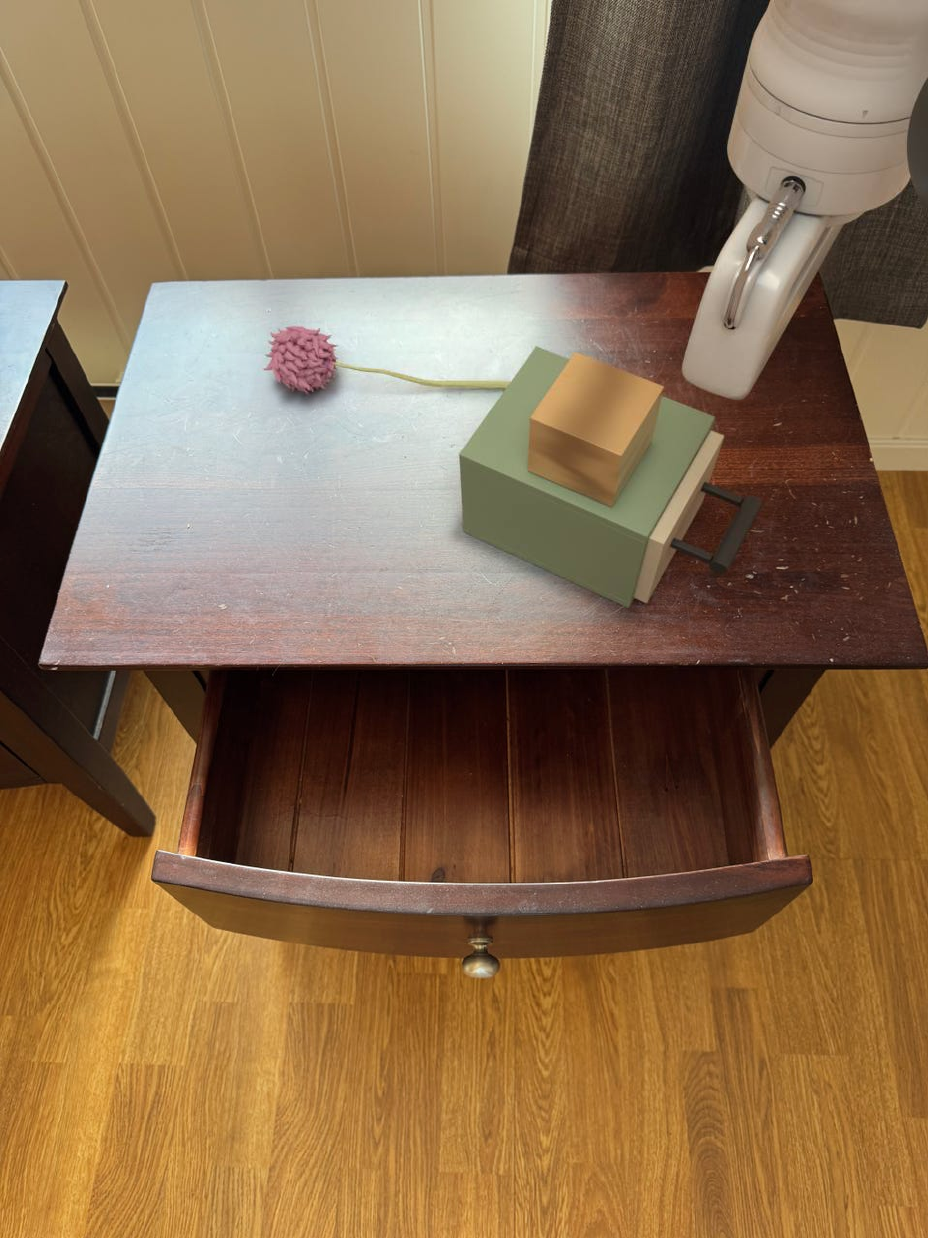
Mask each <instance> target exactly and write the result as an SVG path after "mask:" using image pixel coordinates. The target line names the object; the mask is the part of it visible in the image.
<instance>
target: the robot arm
mask: <svg viewBox="0 0 928 1238" xmlns="http://www.w3.org/2000/svg"><path fill="white" fill-rule="evenodd" d="M751 39H752V40H751V42H750V46H749V50H748V55H747V59H746V64H745V68H744V71H743V76H742V79H741V80H742V81H741V83H740V84H741V85H740V89H739V92H738V96H737V101H736V105H735V110H734V113H733V118H732V122H731V127H730V131H729V134H728V139H727V145H726V146H727V147H726V151H727V158H728V162H729V164H730V167H731V169H732V171H733V172H734V175H736V177H737V178H738V180H740V182H741V183H742V184H743V185H744V186H745V191H746V193H747V195H748V197H749V198H750V200H751V202H750V204H749V205H748V207H747V208H746V210H745V212H744V213H743V215H742V216H741V218H740V219H739V221H738V222H737V224H736V226H735V227H734V229H733V230H732V232H731V234H730V235H729V237H728V239H727V240H726V241H725V243H724V245H723V247H722V248H721V250H720V252H719V254H718V256H717V258H716V261H715V263H714V265H713V267H712V269H711V272H710V274H709V277H708V279H707V282H706V285H705V287H704V291H703V293H702V295H701V296H702V297H701V300H700V302H699V306H698V309H697V312H696V316H695V319H694V322H693V326H692V328H691V333H690V336H689V339H688V343H687V346H686V349H685V353H684V356H683V360H682V364H681V373H682V376H683V379H685V380H686V381H687V382H688V383H690V384H691V385H693V386H695V387H697V388H700V389H702V390H704V391H706V392H709V393H711V394H714V395H717V396H720V397H723V398H727V399H730V400H732V401H733V400H734V401H741V400H744V399H745V398H747V396H748V395H749V394H750V392H751V390H753V387H754V385H756V382H757V381H758V379H759V377H760V375H761V374H762V371H763V370H764V368H765V366H766V365H767V362H768V361H769V358H770V357H771V356H772V353H773V352H774V350H775V348H776V346H777V344H778V343H779V341H780V339H781V337H782V336H783V333H784V332H785V330H786V328H787V326H788V325H789V323H790V321H791V319H792V317H793V316H794V314H795V312H796V310H797V309H798V307H799V306H800V303H801V302H802V300H803V298H804V297H805V294H806V293H807V291H808V289H809V288H810V285H811V283H812V282H813V280H814V278H815V276H816V275H817V273H818V271H819V269H820V268H821V265H822V264H823V262H824V260H825V259H826V257H827V255H828V253H829V251H830V249H831V248H832V246H833V245H834V242H835V241H836V239H837V237H838V236H839V233H840V232H841V230H842V228H843V226H844V225H845V224H848V223H850V222H852V221H854V220H856V219H858V218H859V217H861V216H862V215H863V214H864V213H865V212H868V211H870V210H871V211H872V210H875V209H877V208H879V207H881V206H883V205H886V204H887V203H889V202H890V201H892V200H894V199H895V198H896V197H897V196H898V195H899V194H901V192H902V191H903V190H904V189H906V186H907V185H908V183H909V182H910V180H911V183H912V186H913V188H914V191H915V193H916V196H917V197H918V200H919V201H920V203H921V205H922V206H923V208H924V210H925V211H926V213H928V0H770V1H769V3H768V6H767V8H766V11H765V12H764V14H763V16H762V17H761V19H760V21H759V23H758V25H757V27H756V29H755V31H754V33H753V36H752V38H751Z"/></svg>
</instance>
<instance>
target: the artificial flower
mask: <svg viewBox="0 0 928 1238" xmlns="http://www.w3.org/2000/svg"><path fill="white" fill-rule="evenodd" d="M284 328H285V329H283V330H281V329H280V328H279V327H277V330H278V332H277V333H273V332H271V331H269V334H270V336H271V337H272V338H273V339H274V340H272V341H271V340H268V339H267V342H268V344H269V345H271V346H272V347H271V348H270V352H269V353H268V354H264V356H265V357H266V358H271V359H270V362H269V363H268V364H267V367H265V368H262V370H263V371H272V372H273V374H274V379H275V380H277V381H278V383H280V384H281V383H283V384H284V385H285V386H286V387H287V388H288V389H289V390H291V392H294V391H295V388H296V389H298V391H299V392H301V393H305V394H306V395H309V392H310V391H311V392H312V393H314V388H315V389H316V390H319V388H322V389H323V390H326V387H325V386H324V385H326V386H328V384H327V383H326V382H328V383H331V380H330V379H329V378H336V376H335V375H334V374H332V373H336V371H338V369H337V367H340V368H344V369H349V370H354V371H358V372H364V373H374V374H382V375H387V376H391V377H393V378H398V379H400V380H404V381H407V382H410V383H414V384H418V385H421V386H426V387H435V388H474V389H475V388H476V389H477V388H479V389H481V388H482V389H504V390H505V389H506V388H507V387H508V385H509V384H510V382H511V381H505V380H433V379H424V378H420V377H415V376H412V375H407V374H404V373H399V372H395V371H391V370H387V369H383V368H372V367H359V366H353V365H350V364H349V365H348V364H345V363H339V362H337V360H338V359H339V357H336V355H335V352H334V351H336V349H335V348H336V347H339V345H338V344H332V343H329V342H328V341H327V340H329V339H330V338H331V337H332V336H333V335H332V334H328V335H326V334H324V333H320V332H321V327H319V328H318V329H310V328H306V327H304V326H296V325H292V326H285V327H284ZM335 370H336V371H335ZM308 391H309V392H308Z"/></svg>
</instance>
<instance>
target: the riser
mask: <svg viewBox="0 0 928 1238" xmlns="http://www.w3.org/2000/svg"><path fill="white" fill-rule="evenodd" d="M664 389H665V386H664V385H661V384H659V383H656V382H654V381H652V380H649V379H646V378H644V377H641V376H638V375H636V374H633V373H631V372H628V371H625V370H623V369H620V368H618V367H615V366H612V365H610V364H608V363H605V362H603V361H600V360H597V359H596V358H595V359H594V358H592V357H589V356H588V355H585V354H582V353H579V352H577V351H575V352H573V355H572V356H571V358H570V360H569V362H568V363H567V365H566V366H565V367H564V369H563V370H562V372H561V373H560V375H559V376H558V378H557V379H556V381H555V382H554V383H553V385H552V386H551V388H550V389H549V391H548V392H547V394H546V395H545V397H544V398H543V399H542V401H541V402H540V404H539V405H538V407H537V408H536V410H535V411H534V413H533V414H532V415H531V417H530V429H529V450H528V471H530V472H532V473H534V474H537V475H539V476H541V477H543V478H546V479H548V480H550V481H553V482H555V483H557V484H560V485H562V486H564V487H566V488H569V489H571V490H573V491H576V492H578V493H580V494H583V495H585V496H587V497H589V498H592V499H594V500H596V501H599V502H601V503H603V504H606V505H608V506H610V507H612V506H613V505H614V503H615V502H616V500H617V498H618V497H619V495H620V493H621V492H622V490H623V488H624V487H625V485H626V483H627V482H628V480H629V478H630V477H631V475H632V473H633V472H634V470H635V468H636V467H637V465H638V463H639V462H640V460H641V458H642V457H643V455H644V453H645V452H646V450H647V448H648V447H649V445H650V443H651V442H652V438H653V434H654V429H655V425H656V421H657V416H658V412H659V407H660V403H661V399H662V396H663V394H664V391H665V390H664Z"/></svg>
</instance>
